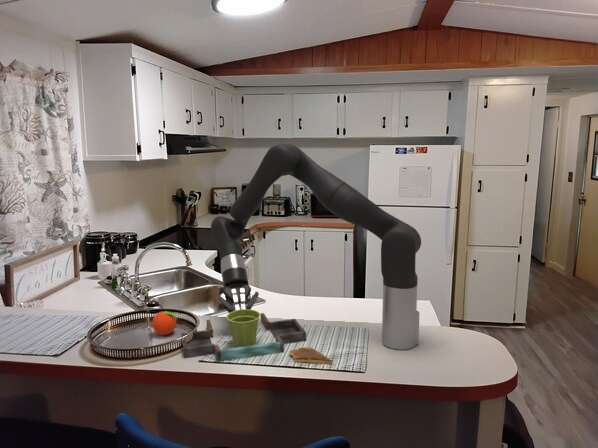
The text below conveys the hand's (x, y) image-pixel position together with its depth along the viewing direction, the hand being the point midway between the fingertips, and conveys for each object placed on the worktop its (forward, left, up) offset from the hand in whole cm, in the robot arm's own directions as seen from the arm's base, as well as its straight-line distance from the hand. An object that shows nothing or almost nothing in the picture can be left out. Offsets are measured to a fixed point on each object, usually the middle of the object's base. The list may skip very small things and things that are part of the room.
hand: (242, 324), depth 132 cm
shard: (-15, +17, -5) cm, 23 cm away
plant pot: (0, +4, -4) cm, 6 cm away
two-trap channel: (0, 0, -4) cm, 4 cm away
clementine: (+21, -11, -5) cm, 24 cm away
